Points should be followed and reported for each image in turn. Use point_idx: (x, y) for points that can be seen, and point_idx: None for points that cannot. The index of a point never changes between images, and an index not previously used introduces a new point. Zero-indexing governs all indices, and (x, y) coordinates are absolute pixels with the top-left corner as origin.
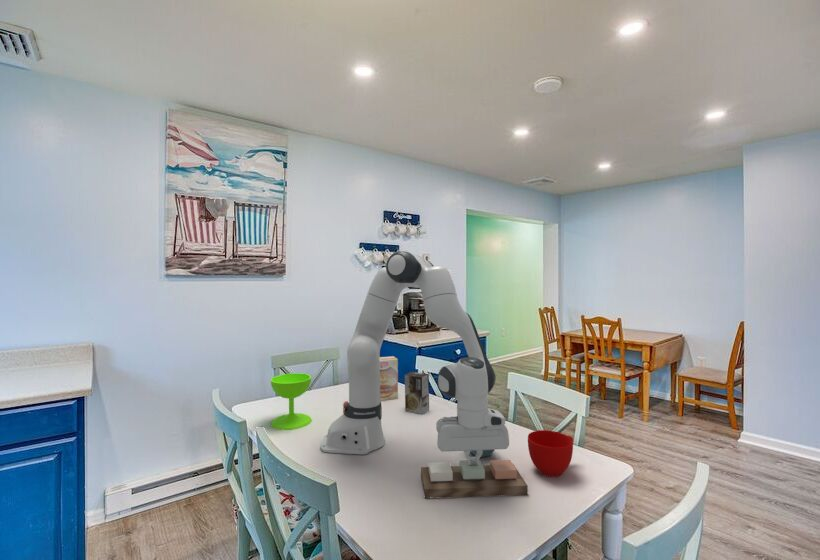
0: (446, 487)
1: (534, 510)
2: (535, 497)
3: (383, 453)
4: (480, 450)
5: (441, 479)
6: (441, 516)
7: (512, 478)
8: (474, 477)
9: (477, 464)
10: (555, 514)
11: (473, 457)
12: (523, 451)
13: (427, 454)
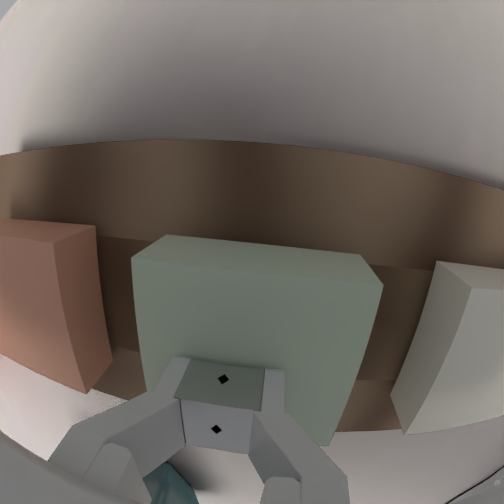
0: (485, 197)
1: (46, 38)
2: (8, 135)
3: (471, 478)
4: (76, 469)
5: (500, 273)
6: (489, 43)
7: (17, 219)
8: (257, 248)
9: (185, 359)
10: (10, 34)
11: (207, 438)
12: (35, 425)
13: (359, 496)
